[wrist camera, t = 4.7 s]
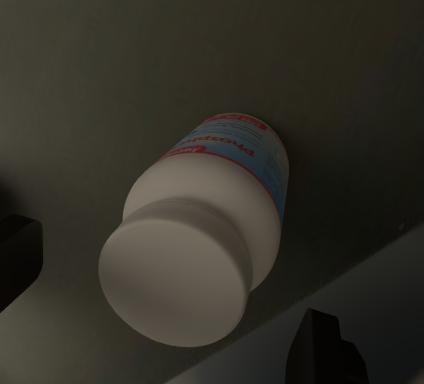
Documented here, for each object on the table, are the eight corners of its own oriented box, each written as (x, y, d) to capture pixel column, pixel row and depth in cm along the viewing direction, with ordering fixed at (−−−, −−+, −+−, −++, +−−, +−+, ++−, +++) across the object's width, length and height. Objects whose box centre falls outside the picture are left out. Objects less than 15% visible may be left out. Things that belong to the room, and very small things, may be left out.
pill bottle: (265, 92, 18) (219, 160, 8) (304, 194, 20) (306, 353, 10) (168, 134, 20) (38, 228, 10) (210, 222, 22) (134, 375, 12)
